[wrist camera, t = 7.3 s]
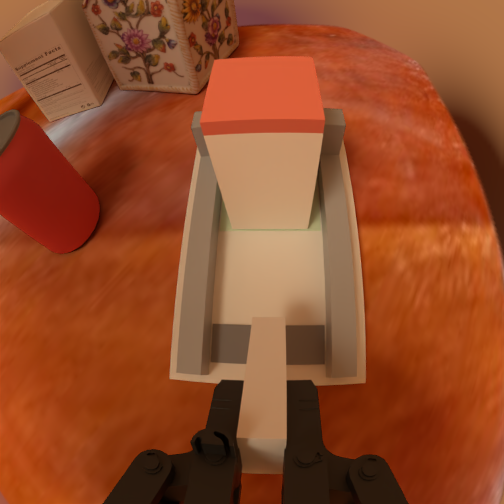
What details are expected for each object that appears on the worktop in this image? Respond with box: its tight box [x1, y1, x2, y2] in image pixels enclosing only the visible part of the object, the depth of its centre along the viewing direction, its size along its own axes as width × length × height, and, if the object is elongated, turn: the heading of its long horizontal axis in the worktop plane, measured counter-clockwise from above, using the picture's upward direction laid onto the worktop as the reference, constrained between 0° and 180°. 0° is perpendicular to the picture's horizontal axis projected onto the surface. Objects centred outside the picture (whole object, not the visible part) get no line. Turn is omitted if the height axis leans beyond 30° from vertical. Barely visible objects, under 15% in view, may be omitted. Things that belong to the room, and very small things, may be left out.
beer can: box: [0, 109, 100, 254], centre depth 18 cm, size 7×7×12 cm
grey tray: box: [169, 108, 366, 386], centre depth 19 cm, size 20×12×6 cm, turn 178°
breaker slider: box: [200, 56, 325, 229], centre depth 17 cm, size 5×5×10 cm
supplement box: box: [0, 0, 114, 122], centre depth 25 cm, size 9×9×15 cm
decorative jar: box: [82, 0, 239, 94], centre depth 23 cm, size 12×12×18 cm
